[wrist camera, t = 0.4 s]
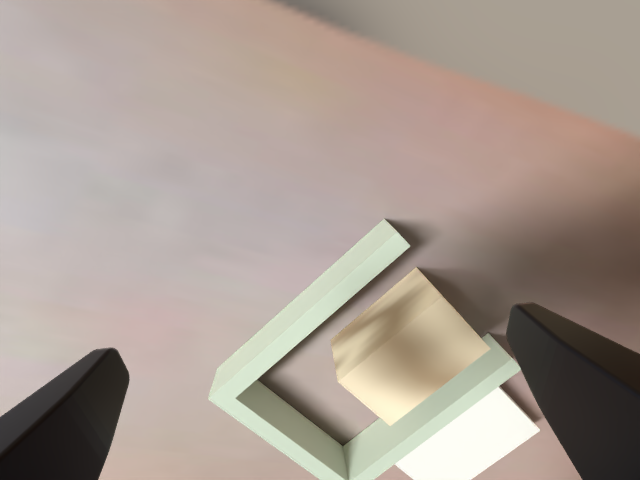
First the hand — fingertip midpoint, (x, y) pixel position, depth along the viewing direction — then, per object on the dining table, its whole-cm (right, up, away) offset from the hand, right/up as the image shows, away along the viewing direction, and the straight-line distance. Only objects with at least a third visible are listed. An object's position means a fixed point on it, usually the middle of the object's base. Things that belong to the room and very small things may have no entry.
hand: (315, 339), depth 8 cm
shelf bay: (+3, -6, +18) cm, 19 cm away
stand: (+11, -13, +21) cm, 27 cm away
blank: (+5, -4, +17) cm, 18 cm away
